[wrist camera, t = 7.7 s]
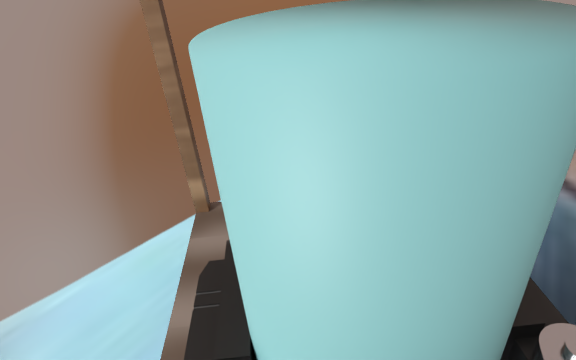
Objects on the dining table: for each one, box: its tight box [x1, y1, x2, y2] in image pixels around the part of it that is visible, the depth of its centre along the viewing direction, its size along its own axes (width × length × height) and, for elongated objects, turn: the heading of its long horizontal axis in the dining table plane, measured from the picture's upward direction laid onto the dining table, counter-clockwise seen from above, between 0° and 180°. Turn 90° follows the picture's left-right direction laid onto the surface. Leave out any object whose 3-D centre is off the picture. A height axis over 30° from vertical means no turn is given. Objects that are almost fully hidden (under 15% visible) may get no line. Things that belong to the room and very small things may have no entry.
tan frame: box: [140, 0, 230, 360], centre depth 18 cm, size 16×17×27 cm
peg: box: [189, 0, 576, 360], centre depth 9 cm, size 5×5×14 cm
